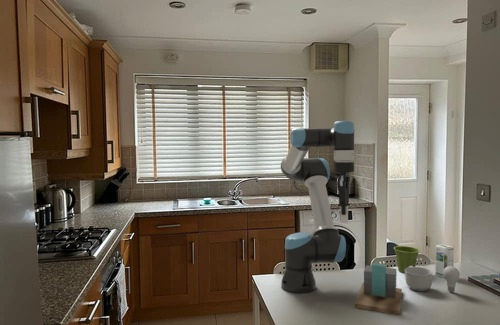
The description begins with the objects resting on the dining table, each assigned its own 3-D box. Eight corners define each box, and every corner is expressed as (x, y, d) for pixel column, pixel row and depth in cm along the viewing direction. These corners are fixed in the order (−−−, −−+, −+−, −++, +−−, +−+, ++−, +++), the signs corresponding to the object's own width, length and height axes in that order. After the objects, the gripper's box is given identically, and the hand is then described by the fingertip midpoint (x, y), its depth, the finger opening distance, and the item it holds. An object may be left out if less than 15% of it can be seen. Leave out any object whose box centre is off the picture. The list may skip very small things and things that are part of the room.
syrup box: (434, 275, 172) (434, 245, 171) (443, 273, 174) (443, 243, 174) (445, 279, 166) (445, 248, 166) (454, 277, 169) (454, 246, 168)
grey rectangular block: (363, 293, 146) (363, 270, 146) (366, 287, 153) (366, 265, 153) (395, 298, 141) (395, 274, 141) (396, 291, 148) (396, 268, 148)
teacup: (435, 294, 149) (435, 275, 149) (407, 292, 151) (407, 273, 151) (425, 282, 163) (426, 264, 162) (400, 280, 165) (400, 263, 165)
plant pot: (417, 277, 169) (417, 253, 169) (391, 272, 176) (391, 250, 175) (421, 270, 179) (421, 247, 179) (396, 266, 185) (396, 244, 185)
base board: (354, 307, 137) (354, 303, 137) (362, 286, 158) (362, 283, 158) (400, 314, 130) (400, 310, 130) (401, 292, 151) (401, 288, 151)
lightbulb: (458, 290, 152) (458, 265, 152) (460, 296, 147) (460, 269, 146) (442, 288, 155) (442, 263, 154) (443, 293, 149) (443, 267, 149)
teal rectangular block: (371, 295, 141) (371, 265, 141) (375, 283, 154) (375, 255, 153) (385, 297, 139) (385, 266, 139) (387, 284, 152) (387, 256, 151)
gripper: (351, 162, 129) (351, 226, 130) (356, 161, 141) (356, 220, 142) (330, 162, 133) (330, 225, 133) (337, 161, 144) (337, 219, 145)
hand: (344, 222), depth 138 cm, fingers closed
